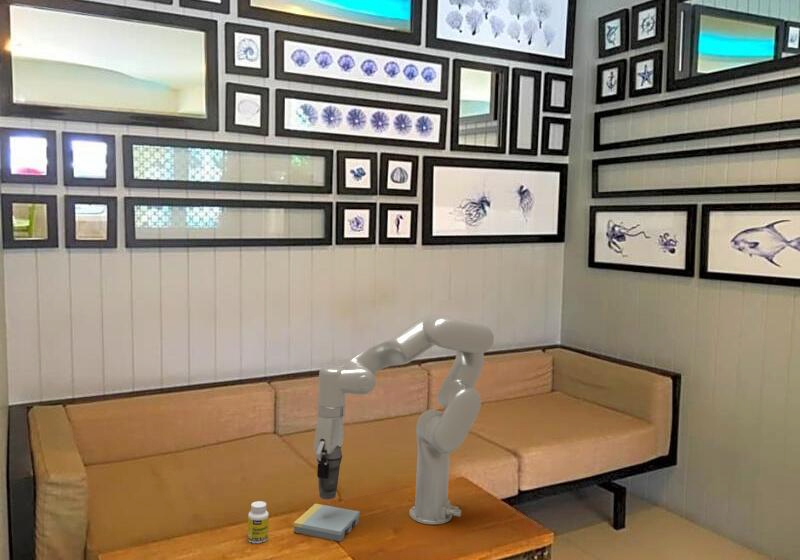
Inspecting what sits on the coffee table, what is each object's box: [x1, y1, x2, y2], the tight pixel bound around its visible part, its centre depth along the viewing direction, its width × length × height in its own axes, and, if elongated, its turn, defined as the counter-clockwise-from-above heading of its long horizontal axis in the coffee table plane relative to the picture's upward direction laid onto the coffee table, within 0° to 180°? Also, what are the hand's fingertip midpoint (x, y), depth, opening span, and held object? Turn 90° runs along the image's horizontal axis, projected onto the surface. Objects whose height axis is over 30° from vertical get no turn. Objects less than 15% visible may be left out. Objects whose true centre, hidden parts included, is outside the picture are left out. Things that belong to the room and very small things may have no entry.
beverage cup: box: [317, 446, 343, 500], centre depth 187 cm, size 7×7×20 cm
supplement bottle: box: [246, 500, 270, 544], centre depth 179 cm, size 5×5×10 cm
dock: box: [293, 503, 361, 543], centre depth 188 cm, size 14×14×3 cm
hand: (328, 472), depth 187 cm, fingers closed on beverage cup, 6 cm apart
